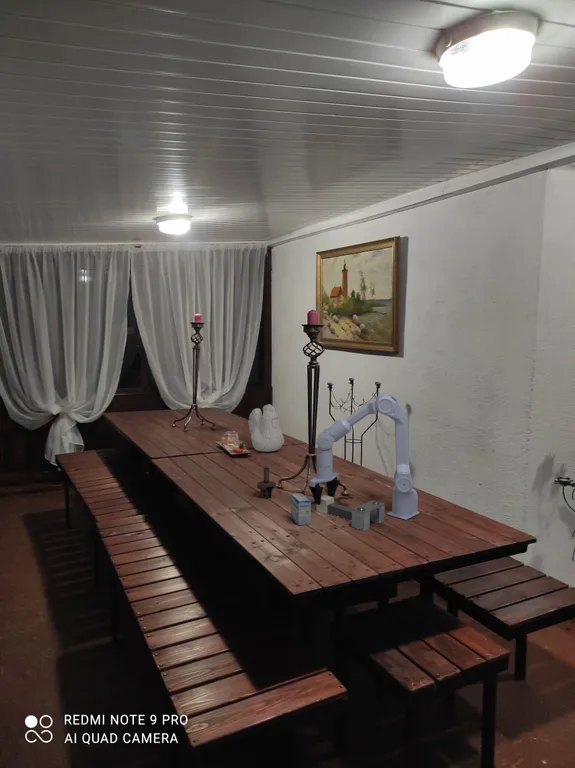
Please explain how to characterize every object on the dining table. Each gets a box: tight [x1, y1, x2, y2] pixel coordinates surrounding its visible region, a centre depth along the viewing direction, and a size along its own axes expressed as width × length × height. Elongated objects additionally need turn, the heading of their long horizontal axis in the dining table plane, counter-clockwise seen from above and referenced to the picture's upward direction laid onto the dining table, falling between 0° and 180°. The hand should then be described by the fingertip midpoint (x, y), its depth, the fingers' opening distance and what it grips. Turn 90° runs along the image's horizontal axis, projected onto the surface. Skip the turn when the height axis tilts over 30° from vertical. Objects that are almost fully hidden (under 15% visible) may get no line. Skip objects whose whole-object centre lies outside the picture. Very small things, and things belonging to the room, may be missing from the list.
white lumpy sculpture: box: [247, 403, 285, 453], centre depth 294 cm, size 25×16×25 cm, turn 25°
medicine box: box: [290, 493, 312, 526], centre depth 193 cm, size 8×4×9 cm, turn 21°
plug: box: [315, 494, 353, 521], centre depth 200 cm, size 4×17×5 cm, turn 47°
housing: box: [351, 500, 386, 532], centre depth 191 cm, size 12×5×7 cm, turn 137°
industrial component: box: [256, 465, 277, 499], centre depth 220 cm, size 9×7×12 cm
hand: (324, 501), depth 204 cm, fingers open, 7 cm apart
